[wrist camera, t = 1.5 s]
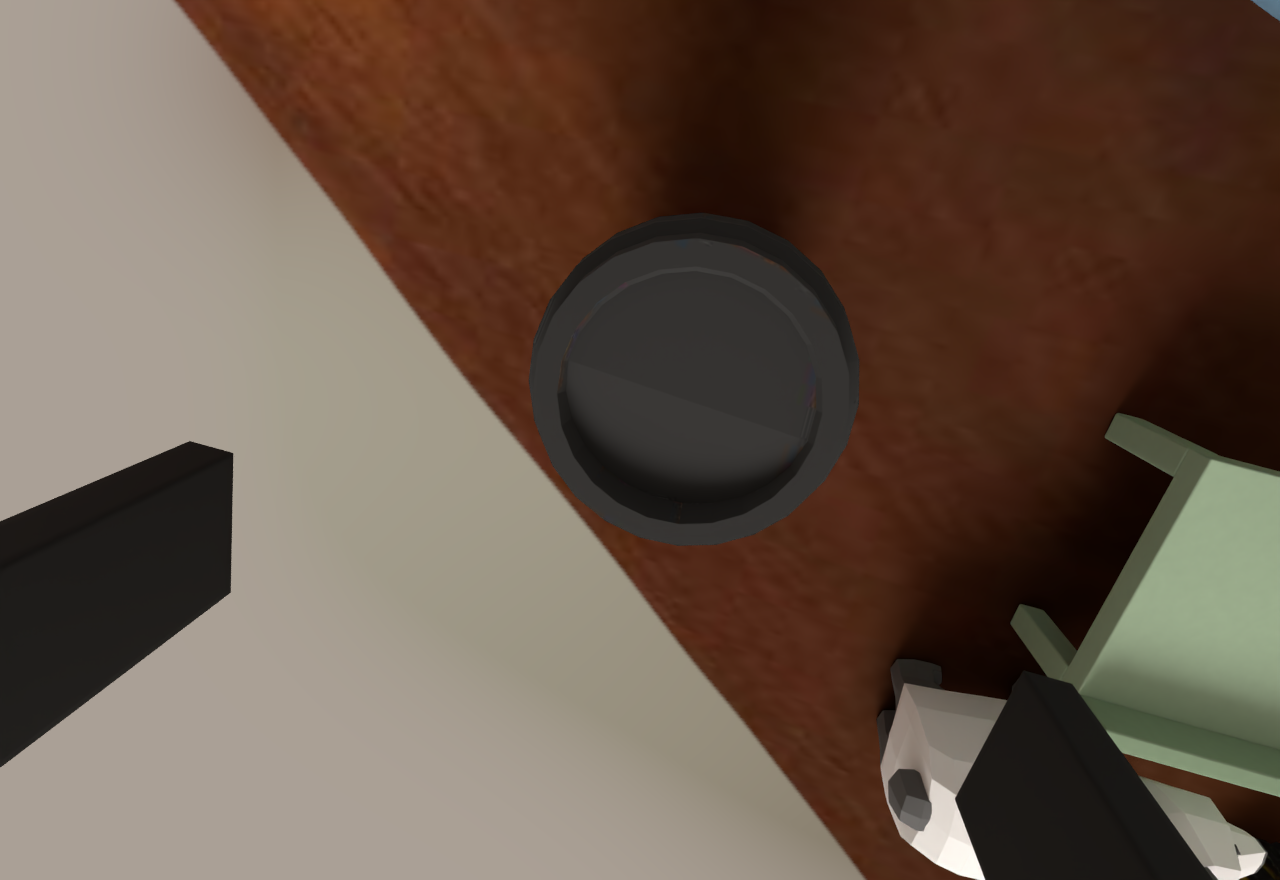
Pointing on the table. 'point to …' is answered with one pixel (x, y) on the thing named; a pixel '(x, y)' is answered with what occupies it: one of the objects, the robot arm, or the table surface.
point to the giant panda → (946, 750)
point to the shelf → (1186, 621)
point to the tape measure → (1268, 863)
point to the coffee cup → (694, 379)
